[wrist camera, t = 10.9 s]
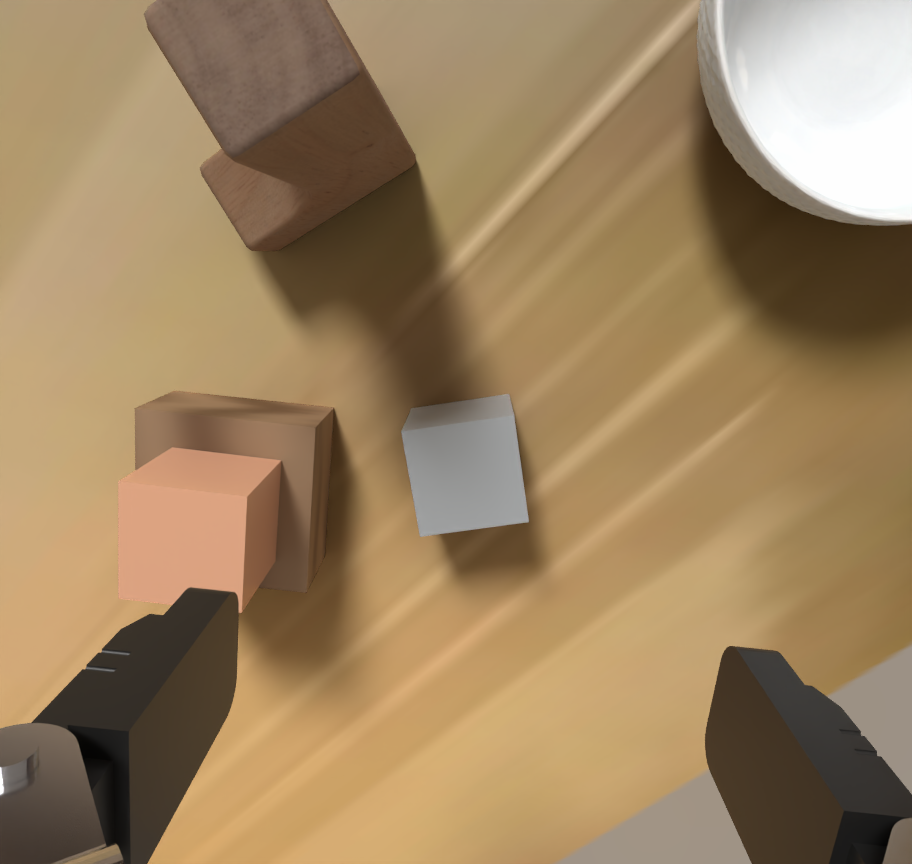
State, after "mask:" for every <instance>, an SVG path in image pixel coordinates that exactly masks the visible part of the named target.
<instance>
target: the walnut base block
mask: <svg viewBox="0 0 912 864" xmlns="http://www.w3.org/2000/svg"><path fill="white" fill-rule="evenodd" d="M333 417H334V408H333V407H323V406H314V405H304V404H295V403H285V402H276V401H266V400H257V399H247V398H238V397H228V396H219V395H209V394H200V393H190V392H181V391H173V392H171V393H168V394H166V395H164V396H162V397H159V398H157V399H155V400H153V401H150V402H148V403H146V404H144V405H141V406H139V407H137V408H135V471H136V470H137V469H139V468H140V467H142V466H143V465H145V464H147V463H148V462H150V461H151V460H153V459H154V458H156V457H158V456H159V455H161V454H162V453H164V452H166V451H167V450H169V449H170V448H172V447H174V448H183V449H191V450H199V451H208V452H216V453H224V454H233V455H241V456H250V457H258V458H266V459H275V460H281V477H280V493H279V510H278V527H277V544H276V561H275V563H274V564H273V566H272V567H271V569H270V570H269V572H268V573H267V575H266V576H265V578H264V580H263V581H262V583H261V584H260V586H259V587H258V588H267V589H276V590H286V591H295V592H305V593H307V591H308V589H309V587H310V585H311V583H312V581H313V579H314V577H315V575H316V573H317V571H318V569H319V567H320V565H321V563H322V561H323V559H324V557H325V549H326V533H327V516H328V500H329V483H330V467H331V450H332V434H333Z"/></svg>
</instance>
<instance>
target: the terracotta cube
mask: <svg viewBox="0 0 912 864" xmlns="http://www.w3.org/2000/svg"><path fill="white" fill-rule="evenodd" d="M280 477H281V460H275V459H266V458H258V457H250V456H241V455H233V454H224V453H216V452H208V451H199V450H191V449H183V448H174V447H172V448H170V449H169V450H167V451H166V452H164V453H162V454H161V455H159V456H158V457H156V458H154V459H153V460H151V461H150V462H148V463H147V464H145V465H143V466H142V467H140V468H139V469H137V470H136V471H134V472H132V473H131V474H129V475H128V476H126V477H124V478H123V479H121V480H120V481H118V599H127V600H135V601H144V602H152V603H161V604H169V605H173V604H174V603H175V602H176V600H177V599H178V598H179V597H180V596H181V595H182V594H183V592H184V591H185V590H186V589H187V588H189V587H193V588H202V589H212V590H221V591H231V592H235V593H236V594H237V596H238V602H239V613H242V612H243V610H244V609H245V607H246V606H247V604H248V603H249V601H250V600H251V598H252V596H253V595H254V593H255V592H256V590H257V589H258V587H259V586H260V584H261V583H262V581H263V580H264V578H265V576H266V575H267V573H268V572H269V570H270V569H271V567H272V566H273V564H274V563H275V561H276V544H277V527H278V510H279V493H280Z"/></svg>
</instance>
